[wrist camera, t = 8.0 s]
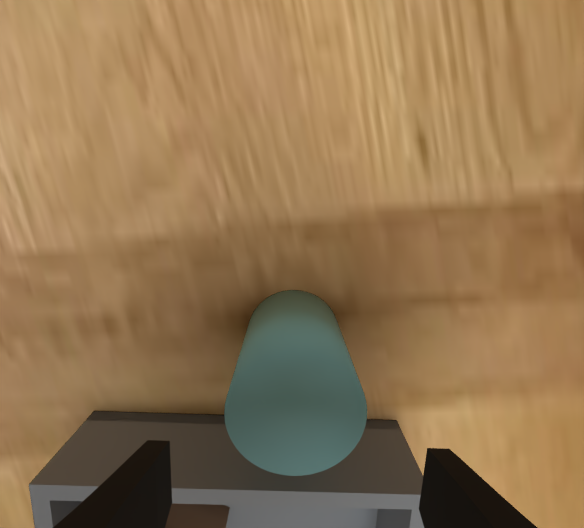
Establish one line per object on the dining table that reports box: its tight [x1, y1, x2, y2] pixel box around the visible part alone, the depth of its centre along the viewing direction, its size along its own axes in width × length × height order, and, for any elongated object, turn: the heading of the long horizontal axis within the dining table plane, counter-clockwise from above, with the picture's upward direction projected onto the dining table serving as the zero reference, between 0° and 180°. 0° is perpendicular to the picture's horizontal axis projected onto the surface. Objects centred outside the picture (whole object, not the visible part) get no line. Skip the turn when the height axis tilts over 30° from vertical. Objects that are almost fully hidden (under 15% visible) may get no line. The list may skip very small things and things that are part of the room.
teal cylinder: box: [224, 290, 367, 476], centre depth 15 cm, size 5×5×7 cm
